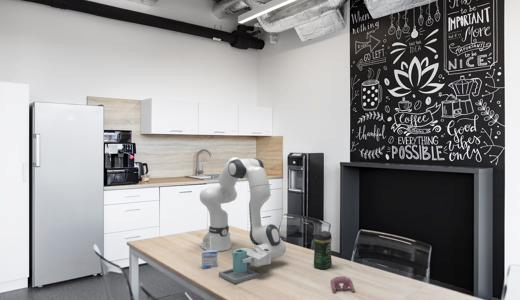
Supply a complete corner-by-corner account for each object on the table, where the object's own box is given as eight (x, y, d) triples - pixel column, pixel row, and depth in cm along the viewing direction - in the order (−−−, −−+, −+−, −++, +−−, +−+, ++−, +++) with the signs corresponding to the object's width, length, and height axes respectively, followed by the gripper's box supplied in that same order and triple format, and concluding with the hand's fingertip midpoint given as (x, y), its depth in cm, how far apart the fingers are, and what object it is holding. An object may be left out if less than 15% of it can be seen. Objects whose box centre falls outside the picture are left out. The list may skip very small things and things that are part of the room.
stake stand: (235, 263, 197) (235, 253, 197) (249, 259, 204) (249, 250, 204) (246, 267, 190) (246, 258, 190) (261, 263, 196) (260, 254, 196)
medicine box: (202, 269, 188) (202, 252, 188) (201, 266, 193) (201, 250, 193) (217, 267, 191) (217, 251, 190) (216, 264, 195) (216, 249, 195)
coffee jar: (324, 271, 183) (323, 234, 183) (311, 267, 189) (311, 232, 188) (334, 266, 190) (334, 231, 190) (321, 263, 196) (321, 229, 195)
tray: (218, 276, 178) (218, 272, 178) (241, 269, 186) (241, 266, 186) (235, 284, 167) (235, 280, 167) (258, 277, 176) (258, 273, 176)
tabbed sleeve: (230, 271, 177) (230, 251, 177) (241, 268, 181) (240, 248, 181) (236, 274, 173) (236, 253, 173) (247, 271, 177) (246, 251, 177)
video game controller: (352, 293, 159) (350, 276, 162) (355, 292, 155) (353, 275, 158) (330, 293, 159) (328, 277, 162) (333, 293, 155) (330, 276, 158)
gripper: (247, 243, 193) (226, 248, 185) (272, 251, 178) (250, 257, 169) (247, 255, 193) (226, 260, 185) (273, 264, 178) (251, 271, 169)
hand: (238, 259), depth 177 cm, fingers closed on tabbed sleeve, 5 cm apart
